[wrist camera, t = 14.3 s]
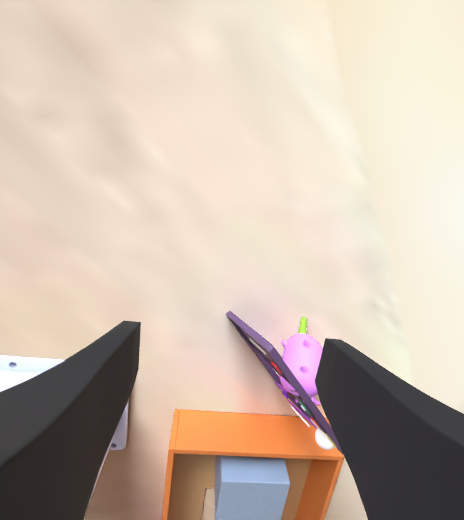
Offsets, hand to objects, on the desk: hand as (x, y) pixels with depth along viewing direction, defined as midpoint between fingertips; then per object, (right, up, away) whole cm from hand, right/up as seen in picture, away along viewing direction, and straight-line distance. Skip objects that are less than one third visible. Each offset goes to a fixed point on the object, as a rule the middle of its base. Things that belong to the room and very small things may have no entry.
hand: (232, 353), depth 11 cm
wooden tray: (0, -18, +16) cm, 24 cm away
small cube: (+1, -13, +14) cm, 19 cm away
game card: (+4, -2, +11) cm, 12 cm away
